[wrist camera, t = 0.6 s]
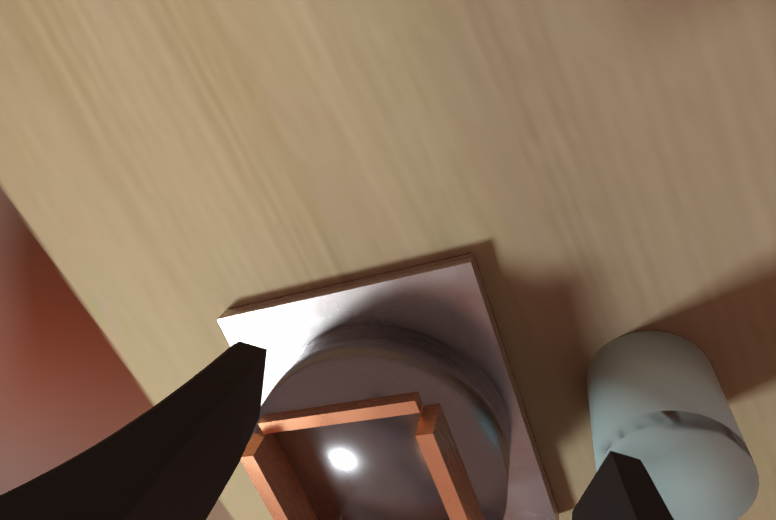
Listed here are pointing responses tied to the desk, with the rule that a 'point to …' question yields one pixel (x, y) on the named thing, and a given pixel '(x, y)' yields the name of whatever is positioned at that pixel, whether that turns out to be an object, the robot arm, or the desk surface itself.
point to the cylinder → (671, 424)
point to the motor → (390, 403)
